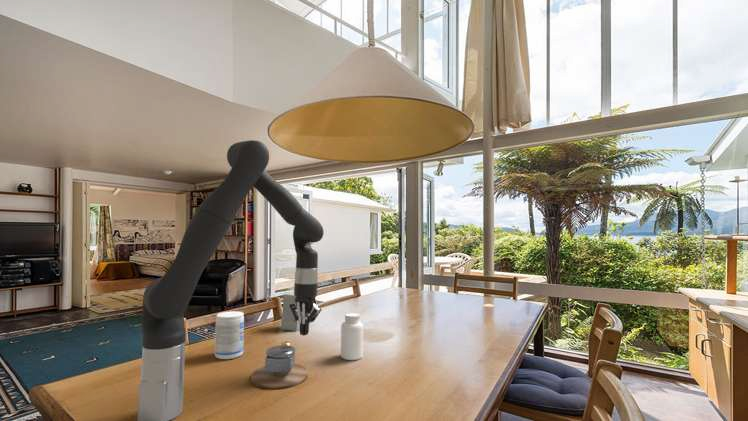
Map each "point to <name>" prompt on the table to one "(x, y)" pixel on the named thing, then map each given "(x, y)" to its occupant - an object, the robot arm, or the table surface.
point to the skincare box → (289, 314)
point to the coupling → (280, 358)
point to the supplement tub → (229, 335)
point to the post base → (279, 378)
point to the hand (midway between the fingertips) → (303, 334)
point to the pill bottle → (352, 337)
